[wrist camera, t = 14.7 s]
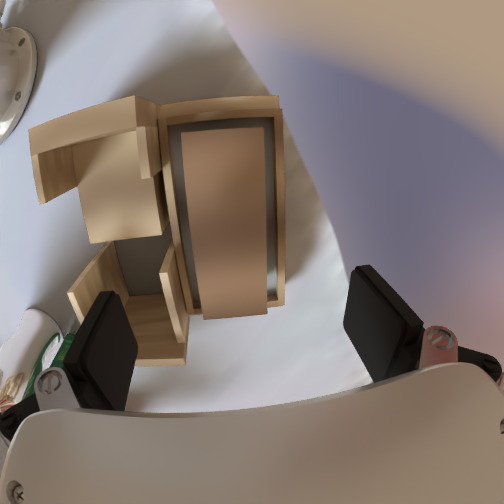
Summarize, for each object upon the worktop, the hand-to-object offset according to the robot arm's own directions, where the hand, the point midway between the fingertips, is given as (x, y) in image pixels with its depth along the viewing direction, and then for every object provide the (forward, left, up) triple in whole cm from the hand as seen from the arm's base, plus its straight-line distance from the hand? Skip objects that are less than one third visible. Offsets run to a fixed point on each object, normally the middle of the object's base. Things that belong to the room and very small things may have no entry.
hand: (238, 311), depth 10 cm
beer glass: (+11, -23, -12) cm, 28 cm away
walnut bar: (-1, 0, -9) cm, 9 cm away
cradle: (-1, -3, -12) cm, 12 cm away
